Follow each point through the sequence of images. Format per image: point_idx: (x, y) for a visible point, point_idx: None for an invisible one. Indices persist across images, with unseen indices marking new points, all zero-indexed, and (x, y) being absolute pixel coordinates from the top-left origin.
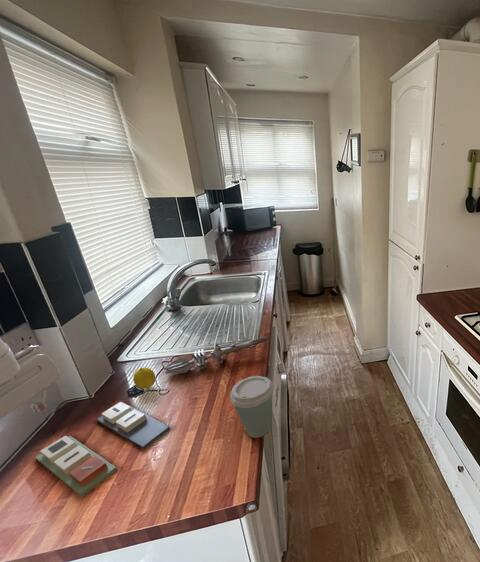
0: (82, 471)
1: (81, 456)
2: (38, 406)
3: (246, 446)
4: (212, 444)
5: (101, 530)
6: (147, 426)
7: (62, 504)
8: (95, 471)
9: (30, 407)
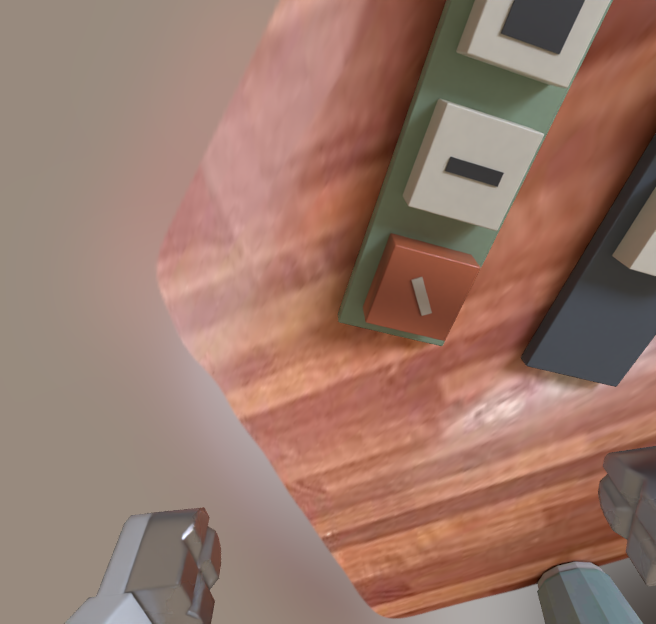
0: (405, 293)
1: (475, 218)
2: (643, 577)
3: (511, 576)
4: (525, 514)
5: (270, 438)
6: (634, 309)
7: (306, 275)
8: (410, 332)
9: (651, 510)
